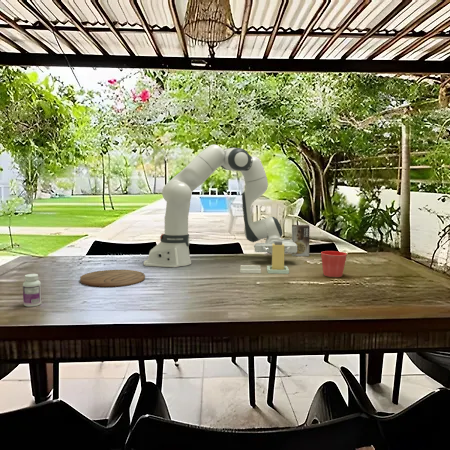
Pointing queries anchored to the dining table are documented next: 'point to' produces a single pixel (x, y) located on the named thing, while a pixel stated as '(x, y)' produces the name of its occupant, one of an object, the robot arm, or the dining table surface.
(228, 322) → the dining table surface
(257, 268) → the socket
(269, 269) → the socket
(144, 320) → the dining table surface
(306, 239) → the coffee box
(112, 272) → the trivet
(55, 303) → the dining table surface
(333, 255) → the flower pot
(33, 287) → the pill bottle
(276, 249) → the tan tall block
